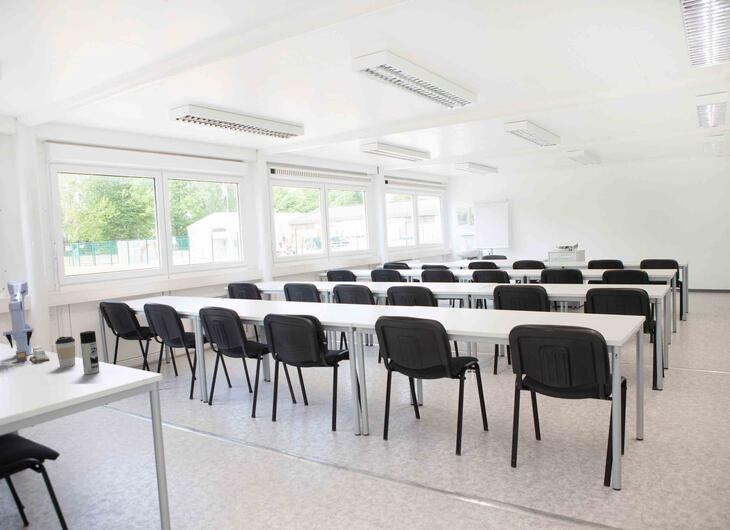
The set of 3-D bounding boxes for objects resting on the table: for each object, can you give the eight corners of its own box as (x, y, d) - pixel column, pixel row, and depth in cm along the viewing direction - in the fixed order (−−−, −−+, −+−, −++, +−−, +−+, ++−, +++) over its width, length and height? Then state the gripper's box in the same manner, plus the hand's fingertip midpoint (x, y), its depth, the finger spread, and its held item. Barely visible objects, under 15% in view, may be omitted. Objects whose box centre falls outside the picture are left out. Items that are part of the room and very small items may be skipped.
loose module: (16, 361, 298) (15, 351, 298) (26, 359, 301) (25, 349, 301) (17, 362, 294) (16, 352, 294) (26, 360, 297) (25, 351, 297)
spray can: (93, 374, 252) (88, 333, 251) (80, 374, 253) (76, 333, 252) (102, 371, 258) (98, 330, 257) (90, 371, 260) (86, 330, 259)
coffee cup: (81, 364, 278) (78, 335, 277) (63, 368, 270) (60, 339, 269) (71, 363, 282) (68, 335, 281) (54, 367, 275) (51, 338, 274)
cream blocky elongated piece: (30, 358, 302) (29, 347, 302) (45, 356, 307) (44, 345, 306) (33, 363, 289) (32, 351, 288) (49, 360, 293) (48, 349, 293)
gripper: (2, 325, 289) (5, 349, 290) (33, 321, 298) (36, 345, 298) (1, 324, 294) (4, 348, 295) (32, 320, 303) (34, 343, 304)
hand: (20, 346), depth 297 cm, fingers open, 7 cm apart
